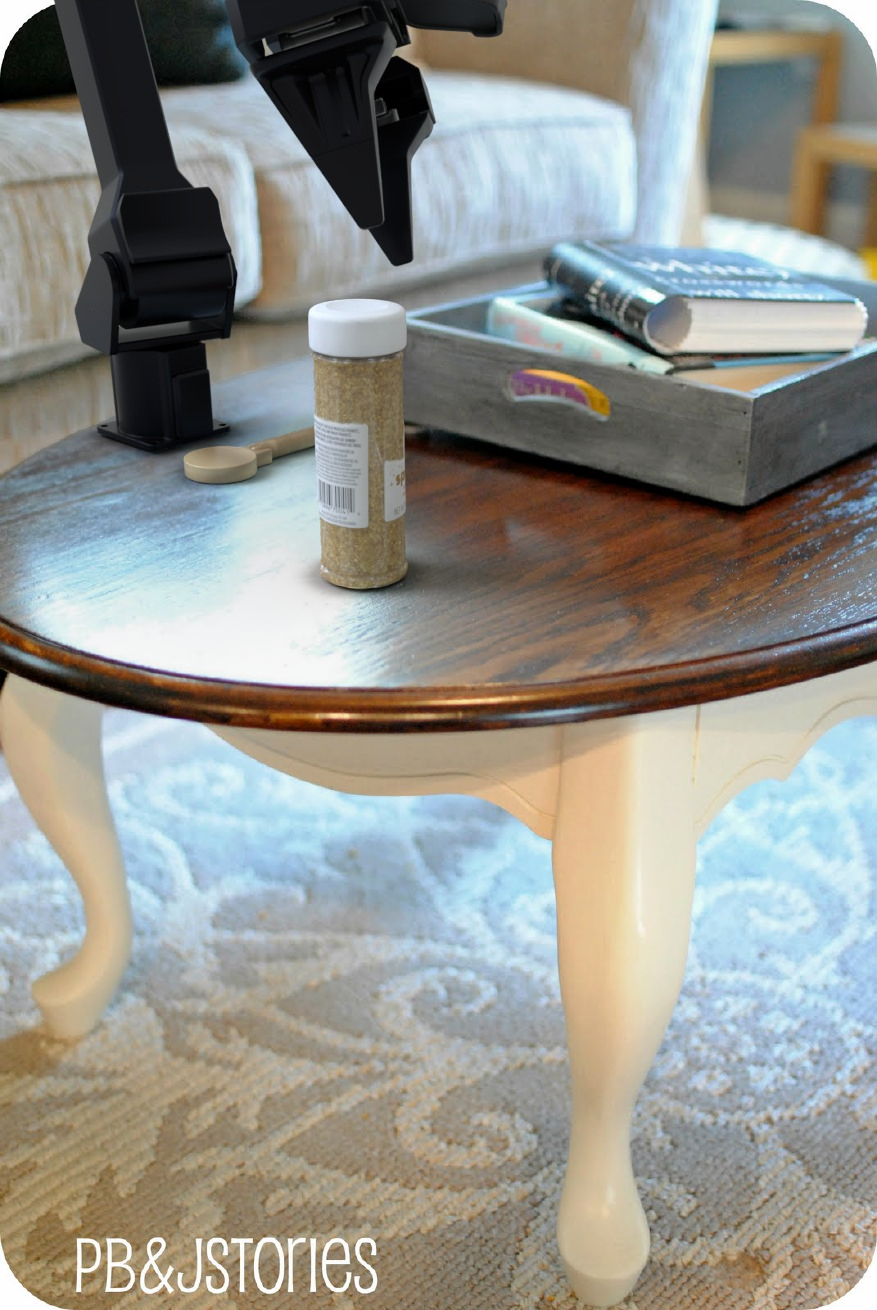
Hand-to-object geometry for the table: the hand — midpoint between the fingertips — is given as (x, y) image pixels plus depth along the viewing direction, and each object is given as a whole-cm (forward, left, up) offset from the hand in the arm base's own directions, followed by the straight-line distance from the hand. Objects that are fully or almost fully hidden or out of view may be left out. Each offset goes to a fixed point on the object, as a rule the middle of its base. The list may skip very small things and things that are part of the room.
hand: (389, 246), depth 64 cm
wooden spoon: (-18, +8, -16) cm, 25 cm away
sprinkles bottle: (0, -2, -16) cm, 16 cm away
